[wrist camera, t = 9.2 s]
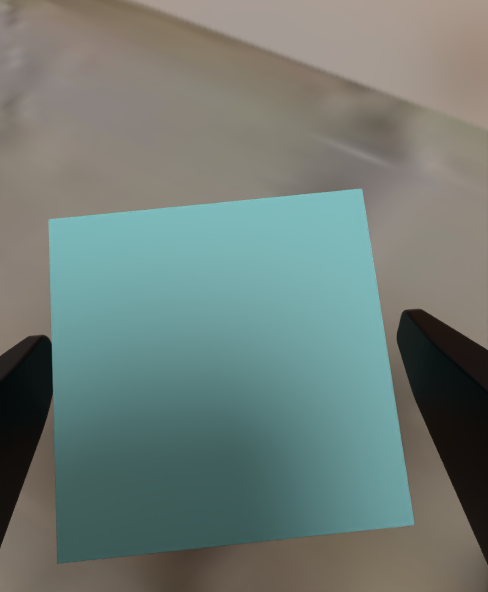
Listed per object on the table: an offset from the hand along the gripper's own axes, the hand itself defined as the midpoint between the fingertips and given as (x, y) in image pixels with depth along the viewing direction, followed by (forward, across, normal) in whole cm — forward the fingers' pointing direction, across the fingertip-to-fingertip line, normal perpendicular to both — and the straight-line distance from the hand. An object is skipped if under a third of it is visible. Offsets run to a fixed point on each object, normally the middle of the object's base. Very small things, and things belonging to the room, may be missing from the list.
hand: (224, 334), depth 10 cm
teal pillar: (+5, 0, +6) cm, 8 cm away
